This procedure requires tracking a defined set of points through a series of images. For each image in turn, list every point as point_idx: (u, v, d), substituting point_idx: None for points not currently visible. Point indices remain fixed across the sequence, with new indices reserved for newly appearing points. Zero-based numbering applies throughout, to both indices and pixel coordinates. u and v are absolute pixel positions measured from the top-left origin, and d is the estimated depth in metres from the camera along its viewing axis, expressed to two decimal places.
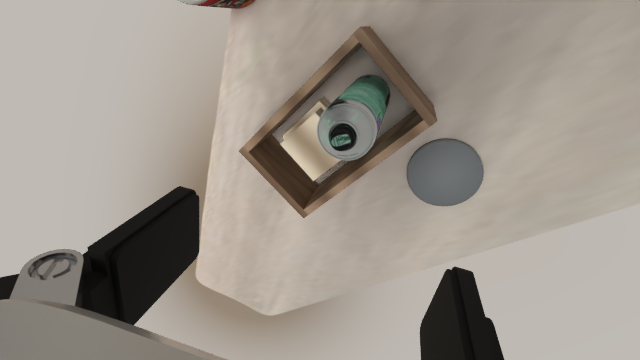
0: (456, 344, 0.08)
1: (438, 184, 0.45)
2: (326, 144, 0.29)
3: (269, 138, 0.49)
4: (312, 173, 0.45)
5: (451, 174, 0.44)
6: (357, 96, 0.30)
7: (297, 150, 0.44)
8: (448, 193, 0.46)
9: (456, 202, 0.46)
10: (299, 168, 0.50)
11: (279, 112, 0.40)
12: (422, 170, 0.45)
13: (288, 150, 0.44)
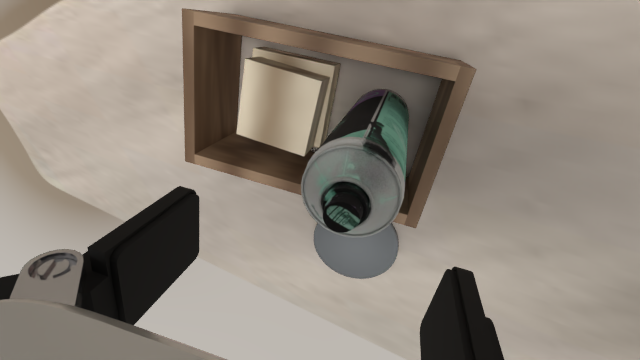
0: (456, 344, 0.08)
1: (341, 246, 0.38)
2: (313, 181, 0.16)
3: None
4: (243, 127, 0.30)
5: (360, 250, 0.38)
6: (402, 157, 0.18)
7: (256, 89, 0.28)
8: (340, 259, 0.39)
9: (337, 270, 0.40)
10: (234, 97, 0.34)
11: (284, 33, 0.23)
12: None
13: (246, 76, 0.28)
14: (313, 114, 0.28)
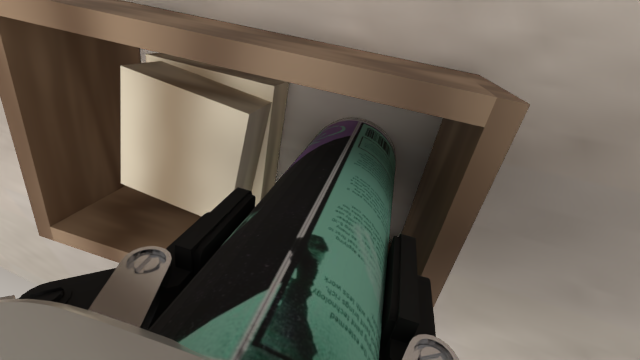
0: (389, 294, 0.09)
1: None
2: None
3: None
4: (131, 175, 0.19)
5: None
6: (367, 351, 0.07)
7: (143, 117, 0.17)
8: None
9: None
10: None
11: (151, 29, 0.12)
12: None
13: (126, 95, 0.16)
14: (238, 165, 0.17)
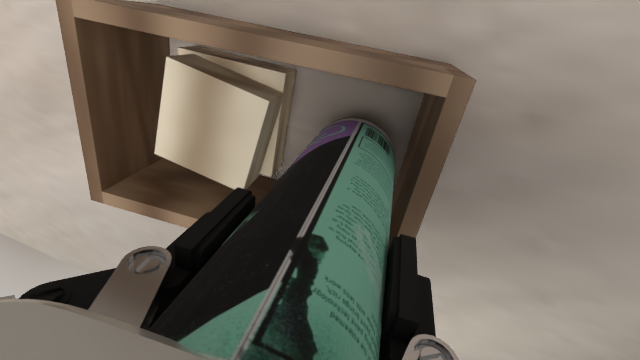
0: (389, 294, 0.09)
1: None
2: None
3: None
4: (164, 146, 0.22)
5: None
6: (367, 350, 0.07)
7: (181, 99, 0.21)
8: None
9: None
10: None
11: (200, 28, 0.16)
12: None
13: (168, 81, 0.20)
14: (256, 142, 0.21)
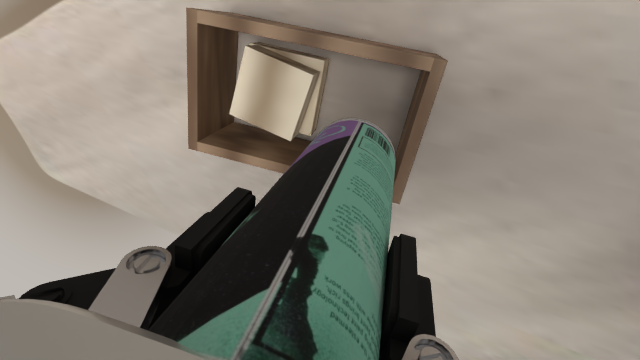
0: (389, 294, 0.09)
1: None
2: None
3: None
4: (237, 109, 0.33)
5: None
6: (367, 350, 0.07)
7: (252, 75, 0.31)
8: None
9: None
10: (232, 89, 0.37)
11: (280, 30, 0.26)
12: None
13: (244, 62, 0.30)
14: (303, 104, 0.31)
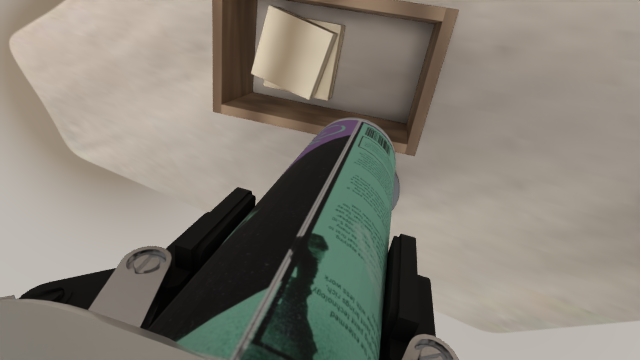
0: (389, 294, 0.09)
1: None
2: None
3: None
4: (258, 68, 0.34)
5: None
6: (368, 349, 0.07)
7: (274, 34, 0.33)
8: None
9: None
10: (251, 59, 0.39)
11: None
12: None
13: (267, 21, 0.32)
14: (321, 62, 0.33)
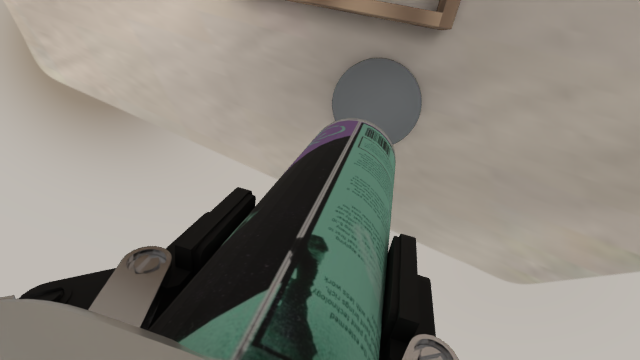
0: (389, 294, 0.09)
1: (361, 109, 0.37)
2: None
3: None
4: None
5: (381, 112, 0.36)
6: (367, 351, 0.07)
7: None
8: None
9: None
10: None
11: None
12: (364, 80, 0.35)
13: None
14: None
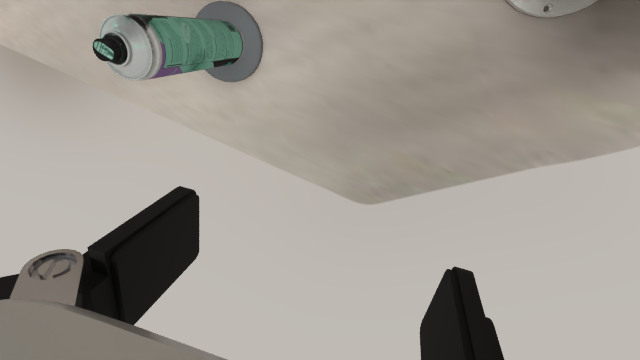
0: (456, 344, 0.08)
1: None
2: None
3: None
4: None
5: None
6: (170, 33, 0.29)
7: None
8: None
9: (216, 76, 0.45)
10: None
11: None
12: None
13: None
14: None
